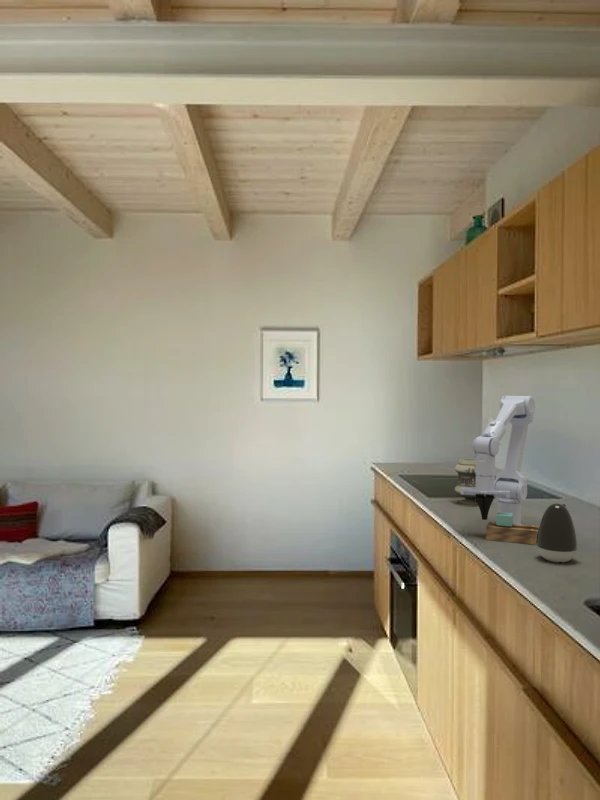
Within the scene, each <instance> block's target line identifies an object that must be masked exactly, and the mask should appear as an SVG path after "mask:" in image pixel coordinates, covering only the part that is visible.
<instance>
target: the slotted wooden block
mask: <svg viewBox="0 0 600 800" xmlns="http://www.w3.org/2000/svg"><path fill="white" fill-rule="evenodd" d="M539 526H540V525H535V524H532V525H531V524H523V525H522V523H521V524H512V527H503V526H497V525H496V521H488V523H487V524H486V528H485V540H486V541H494V542H495V541H496V542H503V541H504V542H505V543H513V544H514V543H515V544H525V545H535V546H537V545H536V540H537V534H538V529H539ZM504 542H503V543H504Z"/></svg>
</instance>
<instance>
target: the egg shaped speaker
mask: <svg viewBox="0 0 600 800" xmlns="http://www.w3.org/2000/svg"><path fill="white" fill-rule="evenodd" d="M538 526H539V529H538V534H537V540H536V545H535V546H537V550H538V553H539V554H540V555H541V558H543V559H544V560H547V561H548V562H552V563H559V562H562V563H567V562H570V561H571V560H572V559H574V557H575V555H576V552H577V550H578V548H579V547H578V539H577V533H576V528H575V524H574V521H573V518H572V516H571V513H570V512H569V510H568V508H567V507H566V504H564V503H552V504H550V505H549V506H547V508H546V509H545V511H544V512H543V515H542V517H541V520H540V523H539V525H538Z"/></svg>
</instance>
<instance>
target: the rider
mask: <svg viewBox="0 0 600 800" xmlns="http://www.w3.org/2000/svg"><path fill="white" fill-rule="evenodd" d="M495 519H496V521H495V522H496V525H497V526H503V527H512V524H513V513H503V512H498V511H497V513H496V518H495Z"/></svg>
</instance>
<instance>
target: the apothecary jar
mask: <svg viewBox="0 0 600 800" xmlns="http://www.w3.org/2000/svg"><path fill="white" fill-rule="evenodd" d="M458 461H459V462H458V464H456V465H455V468H454V470H455V472H456V473H457V485H456V486H455V487H454V492H455V494H457V496H460V497H462V498H464V499H461V500H459V501H457V503H458V504H457V505H459V504H460V506H463V505H465V507H479V506H478V503H477V501H476V499H475V497H476V495H467V494H464V495H462V494H461V488H475V487H476V460H475V459H474V458H459V460H458ZM479 494H482V493H479Z"/></svg>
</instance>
